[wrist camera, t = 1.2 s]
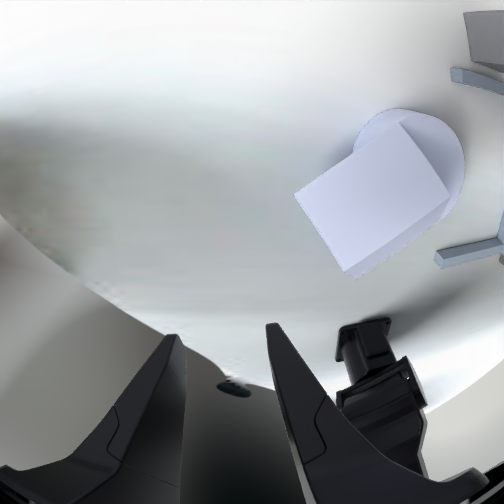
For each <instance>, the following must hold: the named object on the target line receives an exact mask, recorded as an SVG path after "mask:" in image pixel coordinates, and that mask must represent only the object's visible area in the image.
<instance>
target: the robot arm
mask: <svg viewBox="0 0 504 504" xmlns="http://www.w3.org/2000/svg"><path fill="white" fill-rule="evenodd" d="M390 325H391V319H390V318H384V319H380V320H375V321H371V322H367V323H362V324H358V325H353V326H349V327H344V328H341V329H340V330H339V333H338V341H337V348H336V355H335V360H336V362H341V361H344V362H345V365H346V368H347V372H348V375H349V378H350V382H351V385H352V386H350V387H348V388H346V389H344V390H342V391H341V390H340V391H338V392H336V397H337V398H336V405H337V406H336V405H335V404H334V402H333V401H332V400H331V398H330V397H329V396H328V395H327V393H326V391H325V390H324V389H323V387H322V386H321V384H320V383H319V381H318V380H317V379H316V377H315V376H314V374H313V373H312V371H311V370H310V369H309V367H308V366H307V364H306V363H305V361H304V360H303V359H302V357H301V356H300V354H299V353H298V351H297V350H296V349H295V347H294V346H293V344H292V343H291V341H290V340H289V338H288V337H287V336H286V334H285V333H284V331H283V330H282V328H281V327H280V325H279V324H278V323H270V324H266V337H267V348H268V356H269V361H270V366H271V371H272V377H273V382H274V386H275V390H276V394H277V398H278V402H279V405H280V409H281V413H282V417H283V420H284V424H285V428H286V431H287V435H288V438H289V442H290V446H291V450H292V453H293V457H294V461H295V464H296V468H297V471H298V475H299V479H300V482H301V486H302V489H303V493H304V496H305V500H306V503H307V504H504V461H503V462H501V463H499V464H497V465H496V466H494V467H492V468H491V469H489V470H488V471H486V472H484V473H483V474H482V473H481V472H479V471H478V470H477V469H475V468H473V467H472V468H469V469H467V470H465V471H463V472H461V473H459V474H456V475H454V476H452V477H450V478H448V479H446V480H443V481H441V482H436V481H433V480H430V479H429V477H428V473H427V470H426V467H425V463H424V460H423V457H422V454H421V449H422V445H423V441H424V437H425V433H426V428H427V419H426V417H425V414H424V411H423V409H422V408H424V407H426V406H427V405H428V404H427V401H426V398H425V395H424V392H423V389H422V386H421V383H420V381H419V379H418V376H417V374H416V372H415V370H414V368H413V366H412V364H411V363H410V361H409V359H408V358H407V356H404V357H402V359H400V360H399V361H397V360H396V358H395V355H394V353H393V351H392V348H391V346H390V344H389V342H388V340H387V335H388V331H389V328H390ZM408 377H409V379H407V378H408ZM185 402H186V350H185V347H184V345H183V343H182V341H181V339H180V337H179V336H178V335H177V334H167V335H166V336H165V337H164V338H163V339H162V341H161V342H160V343H159V345H158V346H157V347H156V349H155V350H154V351H153V353H152V354H151V355H150V356H149V358H148V359H147V361H146V362H145V363H144V365H143V366H142V367H141V369H140V370H139V371H138V373H137V374H136V375H135V377H134V378H133V379H132V380H131V382H130V383H129V385H128V386H127V387H126V389H125V390H124V391H123V393H122V394H121V395H120V397H119V398H118V399H117V401H116V402H115V404H114V406H112V407H111V409H110V410H109V411H108V413H107V414H106V416H105V417H104V418H103V419H102V421H101V422H100V423H99V424H98V425H97V427H96V428H95V429H94V430H93V431H92V433H90V435H89V436H88V437H87V438H86V439H85V440H84V441H83V442H82V443H81V444H80V446H79V447H78V448H77V449H76V450H75V451H74V452H73V453H72V454H71V455H69V456H68V457H66V458H64V459H62V460H59V461H56V462H53V463H50V464H46V465H43V466H40V467H36V468H32V469H29V470H24V471H17V470H16V469H14V468H12V467H10V466H8V465H4V466H1V467H0V504H179V503H180V473H181V454H182V439H183V426H184V425H183V424H184V413H185Z"/></svg>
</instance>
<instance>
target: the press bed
mask: <svg viewBox="0 0 504 504" xmlns="http://www.w3.org/2000/svg"><path fill="white" fill-rule="evenodd" d="M463 14H464V19H465V24H466V29H467V34H468V40H469V47H470V54H471V61H473V62H476V63H479V64H482V65H484V66H487V67H489V68H492V69H494V70H497V71H499V72H503V73H504V10H497V11H478V12H467V13H463ZM451 78H452V81H455V82H459V83H463V84H467V85H471V86H474V87H478V88H481V89H485V90H488V91H491V92H494V93H497V94H500V95H503V96H504V83H502V82H500V81H497V80H495V79H492V78H489V77H486V76H483V75H480V74H477V73H474V72H471V71H468V70H465V69H459V68H451ZM499 253H502V254H503V255H504V212H503V216H502V220H501V224H500V228H499V231H498V235H497V238H494V239H490V240H486V241H481V242H477V243H472V244H468V245H463V246H458V247H454V248H449V249H444V250H439V251H436V254H435V258H434V261H435V263H436V264H437V265H438V266H439V267H440V269H443V268H447V267H451V266H455V265H458V264H462V263H466V262H470V261H474V260H477V259H481V258H485V257H488V256H492V255H495V254H499Z"/></svg>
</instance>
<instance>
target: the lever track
mask: <svg viewBox="0 0 504 504" xmlns="http://www.w3.org/2000/svg"><path fill="white" fill-rule="evenodd" d="M499 261H500V262H501V263H502V264H503V265H504V255H503V254H501V257H500V260H499Z"/></svg>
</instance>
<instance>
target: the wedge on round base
mask: <svg viewBox="0 0 504 504" xmlns="http://www.w3.org/2000/svg"><path fill="white" fill-rule="evenodd" d="M464 173H465V162H464V154H463V150H462V147H461V144H460V142H459V139H458V137H457V136H456V134H455V133H454V131H453V130H452V129H451V128H450V127H449V126H448V125H447V124H446V123H445V122H443V121H442V120H440V119H438V118H436V117H433V116H430V115H426V114H423V113H419V112H415V111H411V110H407V109H390V110H386V111H384V112H381V113H379V114H378V115H376V116H374V117H373V118H372V119H371V120H369V121H368V123H367V124H366V125H365V126H364V127H363V128H362V130H361V131H360V133H359V135H358V137H357V139H356V141H355V144H354V147H353V151H352V154H351V155H349V156H348V157H346V158H345V159H344V160H342V161H341V162H339V163H338V164H336V165H335V166H333V167H332V168H331V169H329V170H328V171H326V172H325V173H323V174H322V175H321V176H319V177H318V178H316V179H315V180H313V181H312V182H311V183H309V184H308V185H306V186H305V187H304V188H302V189H301V190H299V191H298V192H297V193H295V194H294V197H295V198H296V199H297V201H298V202H299V204H300V205H301V207H302V208H303V210H304V211H305V212H306V214H307V215H308V217H309V218H310V220H311V221H312V223H313V224H314V226H315V227H316V229H317V230H318V232H319V233H320V235H321V237H322V238H323V240H324V241H325V243H326V244H327V246H328V247H329V249H330V250H331V252H332V254H333V255H334V257H335V258H336V260H337V262H338V263H339V265H340V266H341V268H342V270H343V271H344V272H345V273H346V274H348V275H349V276H351V277H352V278H353V279H355V280H356V279H358V278H359V277H361V276H362V275H364V274H365V273H367V272H368V271H370V270H371V269H373V268H374V267H376V266H377V265H379V264H380V263H382V262H383V261H385V260H386V259H388V258H389V257H391V256H392V255H394V254H395V253H396V252H398V251H399V250H401V249H402V248H404V247H405V246H406V245H408V244H409V243H411V242H412V241H413V240H415V239H416V238H417V237H419V236H420V235H422V234H423V233H424V232H426V231H427V230H428V229H430V228H431V227H432V226H434V225H435V224H436V223H438V222H439V221H440V220H441V219H442V218H443V217H444V216H445V215H446V214H447V213H448V212H449V211H450V209H451V208H452V207H453V205H454V204H455V202H456V200H457V198H458V196H459V194H460V191H461V188H462V184H463V180H464Z"/></svg>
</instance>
